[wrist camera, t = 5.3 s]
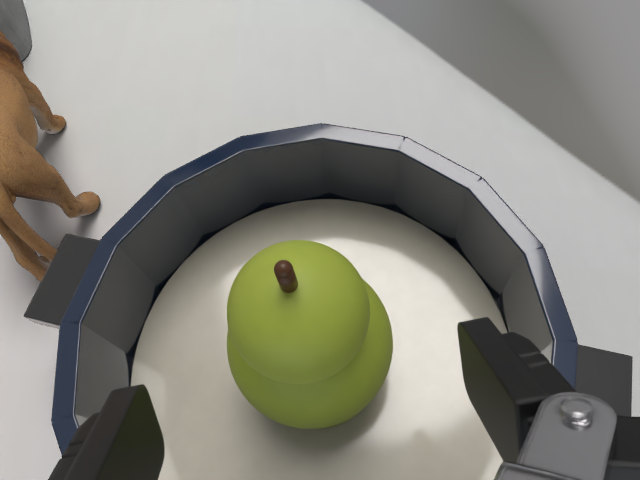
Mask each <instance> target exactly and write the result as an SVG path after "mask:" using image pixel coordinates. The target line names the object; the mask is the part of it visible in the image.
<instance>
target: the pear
mask: <svg viewBox="0 0 640 480" xmlns="http://www.w3.org/2000/svg"><path fill="white" fill-rule="evenodd" d="M227 323H228V333H227V355H228V362H229V366H230V370H231V373H232V376H233V378H234V381H235V383H236V384H237V386H238V388H239V390H240V391H241V393H242V394H243V396H244V397H245V398H246V399H247V401H248V402H249V403H250V404H251V405H252V406H253V407H254V408H255V409H256V410H258V411H259V412H260V413H262V414H263V415H265V416H266V417H268V418H270V419H272V420H274V421H276V422H278V423H280V424H283V425H286V426H289V427H294V428H300V429H323V428H329V427H334V426H337V425H340V424H342V423H344V422H346V421H348V420H350V419H352V418H353V417H354V416H356V415H357V414H358V413H359V412H360V411H362V410H363V409H364V408H365V407H366V406H367V405H368V404H369V403H370V402H371V401H372V400H373V398H374V397H375V396H376V395H377V393H378V392H379V390H380V389H381V387H382V385H383V383H384V381H385V379H386V376H387V374H388V371H389V368H390V364H391V360H392V353H393V336H392V329H391V324H390V320H389V316H388V314H387V311H386V309H385V307H384V305H383V303H382V302H381V300H380V298H379V297H378V295H377V294H376V292H375V291H374V290H373V289H372V287H371V286H370V285H369V284H368V283H367V282H366V281H365V280H364V279H362V278H361V276H360V274H359V273H358V271H357V270H356V268H355V267H354V266H353V265H352V263H351V262H350V261H349V260H348V259H347V258H346V257H344V256H343V255H342V254H340V253H339V252H338V251H336V250H334V249H332V248H331V247H329V246H326V245H324V244H321V243H318V242H314V241H307V240H290V241H284V242H279V243H276V244H273V245H271V246H269V247H267V248H265V249H263V250H261V251H260V252H258V253H257V254H255V255H254V256H253V257H252V258H251V259H250V260H249V261H248V262H247V263H246V264H245V265H244V266H243V267H242V268H241V270H240V271H239V272H238V274H237V276H236V278H235V279H234V282H233V284H232V286H231V289H230V293H229V296H228V301H227Z"/></svg>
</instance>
